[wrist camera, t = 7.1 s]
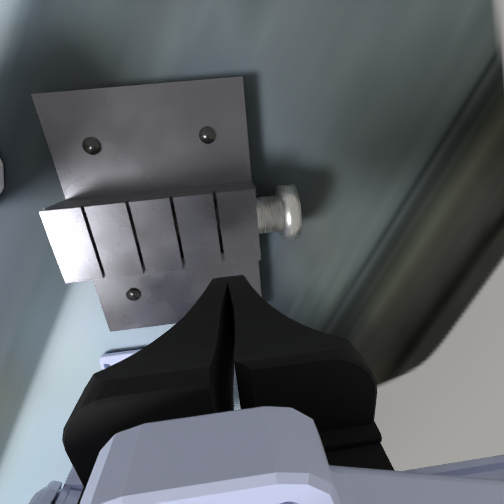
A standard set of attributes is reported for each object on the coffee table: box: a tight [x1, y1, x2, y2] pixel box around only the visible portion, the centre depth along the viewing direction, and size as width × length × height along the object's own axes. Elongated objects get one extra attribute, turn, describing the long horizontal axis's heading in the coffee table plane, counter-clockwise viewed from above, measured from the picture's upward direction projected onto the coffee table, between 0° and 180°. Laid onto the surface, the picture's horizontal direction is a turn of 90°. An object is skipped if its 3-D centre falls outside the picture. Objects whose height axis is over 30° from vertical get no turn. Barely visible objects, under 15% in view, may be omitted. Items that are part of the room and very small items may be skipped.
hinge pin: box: [173, 184, 302, 243], centre depth 19 cm, size 14×4×4 cm, turn 95°
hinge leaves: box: [31, 76, 262, 332], centre depth 19 cm, size 12×16×4 cm
